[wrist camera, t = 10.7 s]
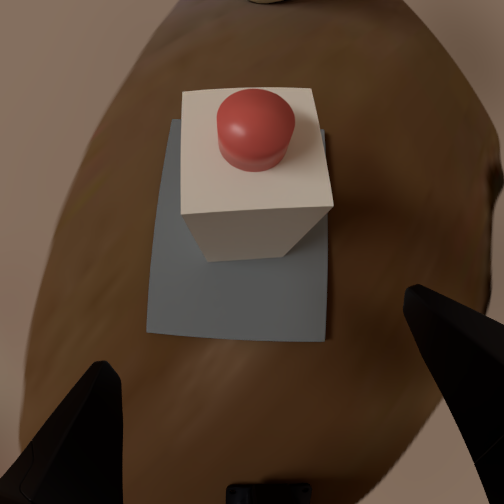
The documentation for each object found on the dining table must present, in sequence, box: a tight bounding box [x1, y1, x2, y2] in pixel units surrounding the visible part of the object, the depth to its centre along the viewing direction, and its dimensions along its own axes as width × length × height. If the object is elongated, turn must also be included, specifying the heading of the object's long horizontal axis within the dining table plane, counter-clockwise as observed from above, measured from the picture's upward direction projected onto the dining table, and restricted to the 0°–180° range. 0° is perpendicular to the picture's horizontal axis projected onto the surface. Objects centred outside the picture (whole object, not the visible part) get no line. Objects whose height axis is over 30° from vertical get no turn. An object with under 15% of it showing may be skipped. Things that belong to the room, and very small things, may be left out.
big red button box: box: [181, 88, 334, 262], centre depth 15 cm, size 5×5×12 cm
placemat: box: [147, 119, 328, 342], centre depth 21 cm, size 16×12×1 cm
